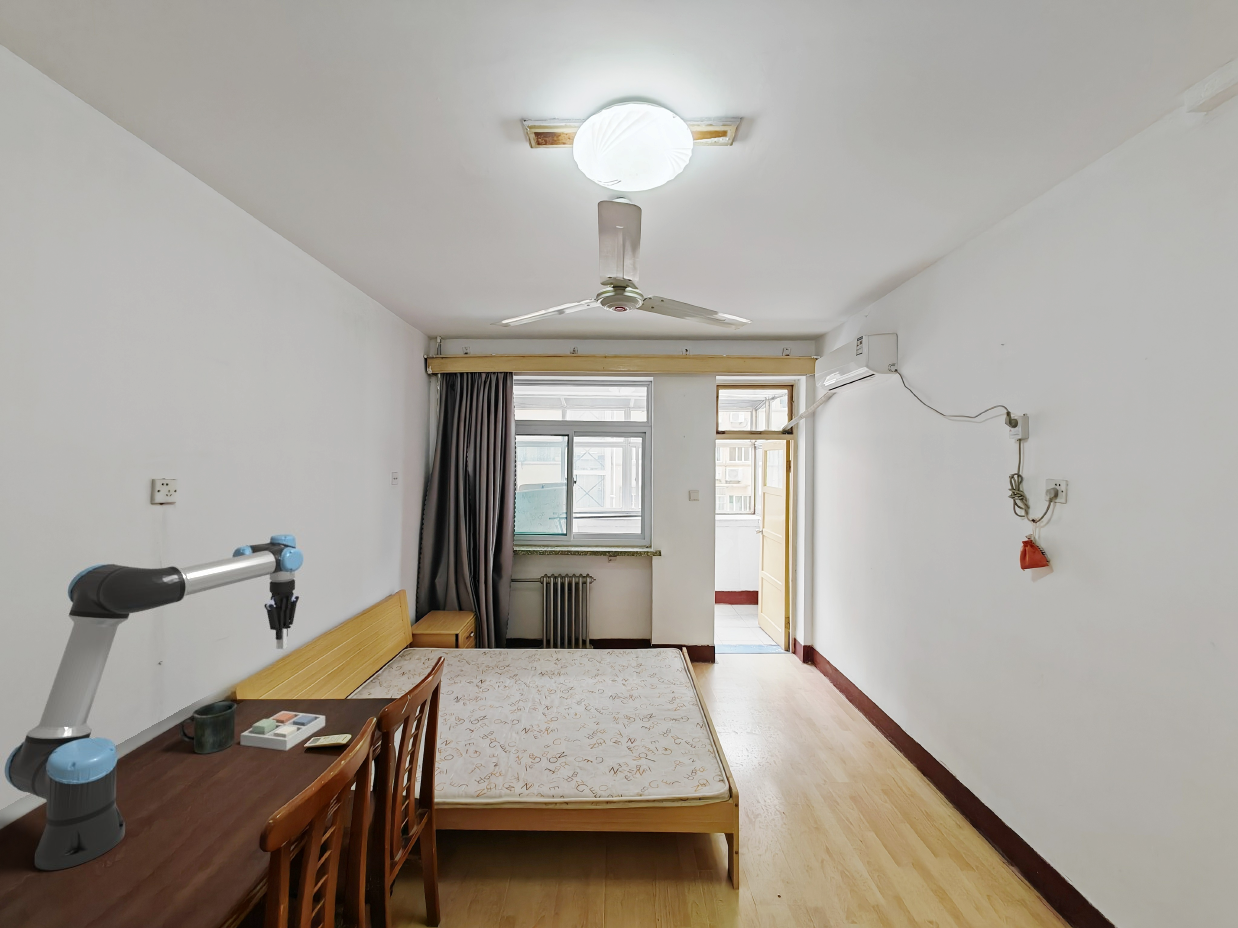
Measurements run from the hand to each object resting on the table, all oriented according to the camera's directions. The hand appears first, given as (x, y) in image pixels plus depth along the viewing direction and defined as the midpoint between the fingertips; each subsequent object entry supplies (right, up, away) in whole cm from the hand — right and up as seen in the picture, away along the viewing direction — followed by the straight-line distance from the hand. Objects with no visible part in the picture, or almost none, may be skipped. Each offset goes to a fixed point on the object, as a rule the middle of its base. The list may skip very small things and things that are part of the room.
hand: (281, 647), depth 191 cm
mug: (-14, -26, -16) cm, 34 cm away
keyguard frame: (+5, -27, -7) cm, 28 cm away
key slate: (+10, -26, -4) cm, 28 cm away
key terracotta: (+2, -26, -3) cm, 26 cm away
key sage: (+1, -24, -10) cm, 26 cm away
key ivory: (+9, -26, -12) cm, 30 cm away
